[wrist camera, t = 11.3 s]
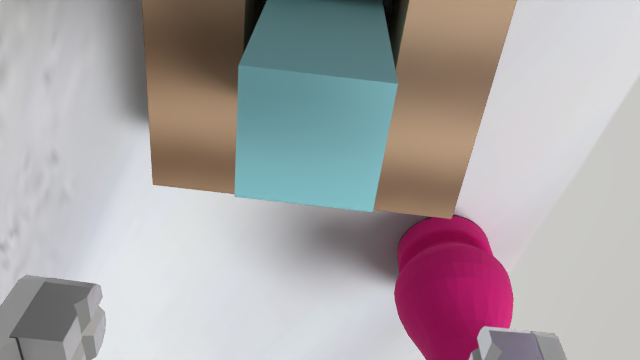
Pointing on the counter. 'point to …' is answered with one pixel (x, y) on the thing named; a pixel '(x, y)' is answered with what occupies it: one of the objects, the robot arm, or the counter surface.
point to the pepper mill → (450, 287)
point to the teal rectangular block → (315, 103)
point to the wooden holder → (408, 112)
